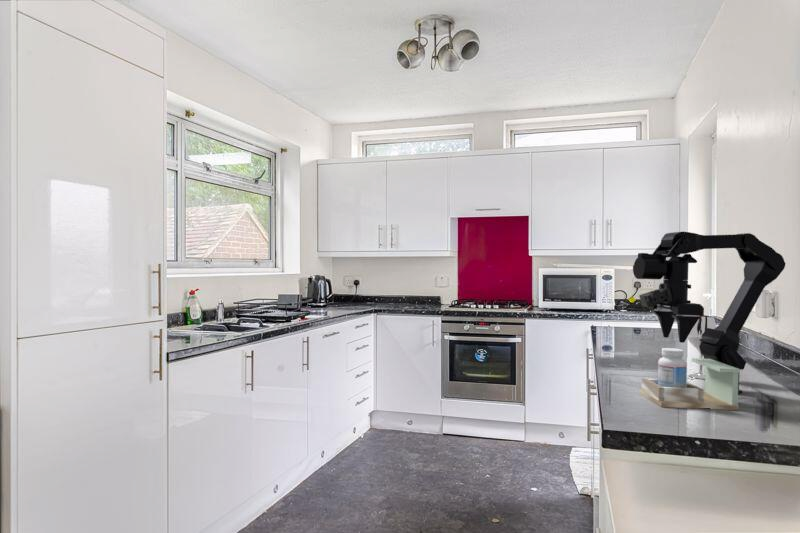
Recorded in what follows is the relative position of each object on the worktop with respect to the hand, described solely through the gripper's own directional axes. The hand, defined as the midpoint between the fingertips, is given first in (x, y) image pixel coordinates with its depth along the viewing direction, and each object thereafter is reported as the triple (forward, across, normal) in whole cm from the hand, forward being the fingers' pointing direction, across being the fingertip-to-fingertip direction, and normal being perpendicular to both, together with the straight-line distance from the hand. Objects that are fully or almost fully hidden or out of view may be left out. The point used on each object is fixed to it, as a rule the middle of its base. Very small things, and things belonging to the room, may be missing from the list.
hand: (673, 339), depth 139 cm
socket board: (+13, +12, -2) cm, 18 cm away
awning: (+13, +12, +4) cm, 18 cm away
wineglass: (+13, -18, +16) cm, 27 cm away
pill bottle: (+12, +12, -5) cm, 18 cm away
